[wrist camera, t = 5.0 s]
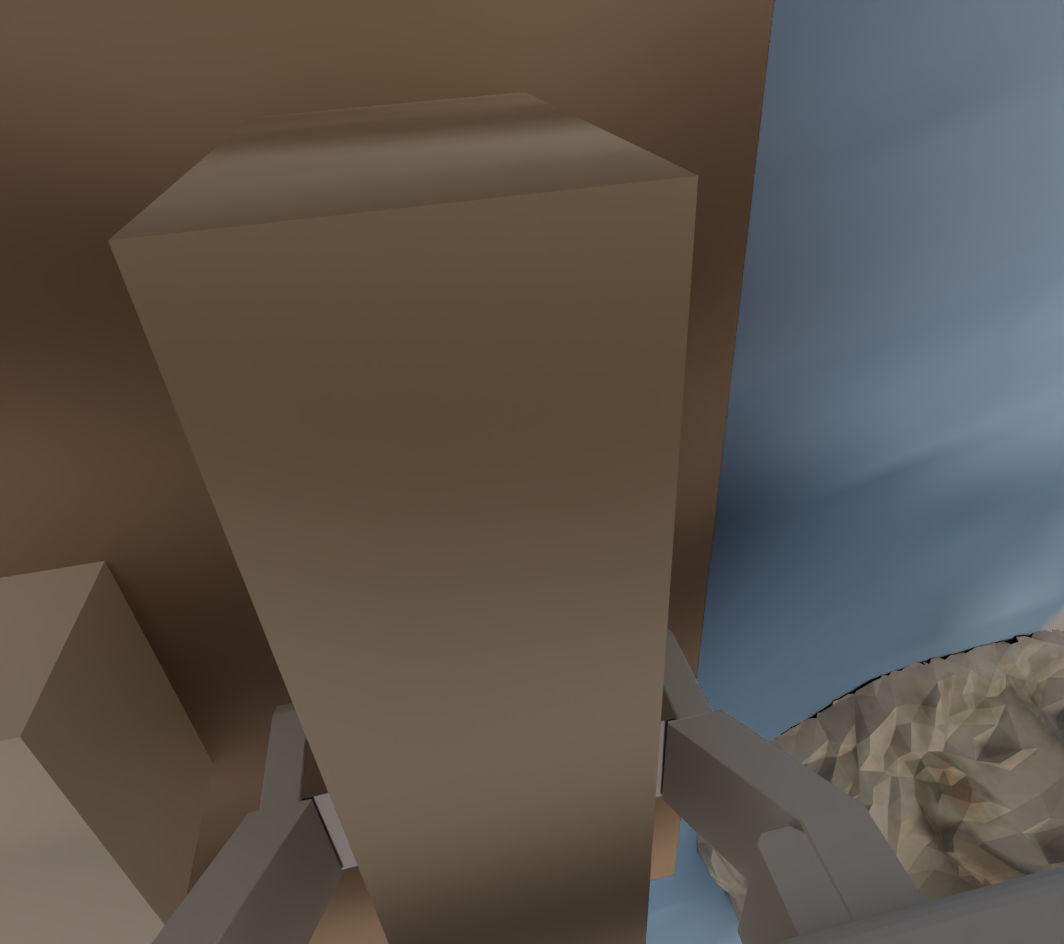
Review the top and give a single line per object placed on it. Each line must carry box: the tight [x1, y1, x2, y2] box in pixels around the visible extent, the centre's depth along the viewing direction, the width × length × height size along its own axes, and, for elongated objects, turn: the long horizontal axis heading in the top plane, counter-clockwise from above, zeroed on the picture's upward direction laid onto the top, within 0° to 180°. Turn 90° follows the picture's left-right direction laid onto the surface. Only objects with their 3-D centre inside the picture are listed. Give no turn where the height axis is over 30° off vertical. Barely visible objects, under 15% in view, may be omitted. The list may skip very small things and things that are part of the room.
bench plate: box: [0, 0, 774, 944], centre depth 13 cm, size 22×21×4 cm
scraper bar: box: [108, 92, 698, 944], centre depth 10 cm, size 16×3×5 cm, turn 3°
